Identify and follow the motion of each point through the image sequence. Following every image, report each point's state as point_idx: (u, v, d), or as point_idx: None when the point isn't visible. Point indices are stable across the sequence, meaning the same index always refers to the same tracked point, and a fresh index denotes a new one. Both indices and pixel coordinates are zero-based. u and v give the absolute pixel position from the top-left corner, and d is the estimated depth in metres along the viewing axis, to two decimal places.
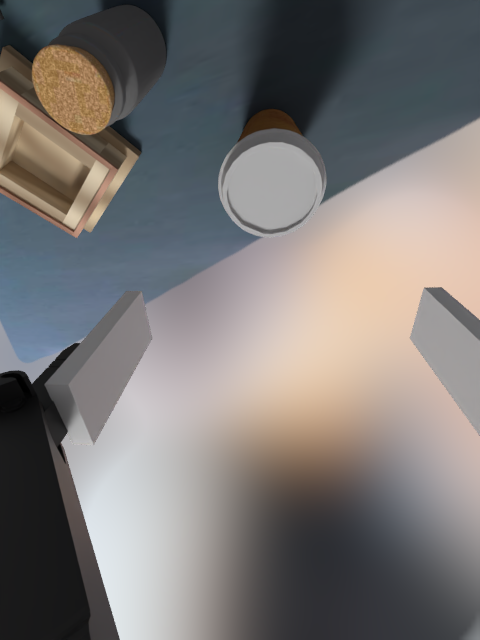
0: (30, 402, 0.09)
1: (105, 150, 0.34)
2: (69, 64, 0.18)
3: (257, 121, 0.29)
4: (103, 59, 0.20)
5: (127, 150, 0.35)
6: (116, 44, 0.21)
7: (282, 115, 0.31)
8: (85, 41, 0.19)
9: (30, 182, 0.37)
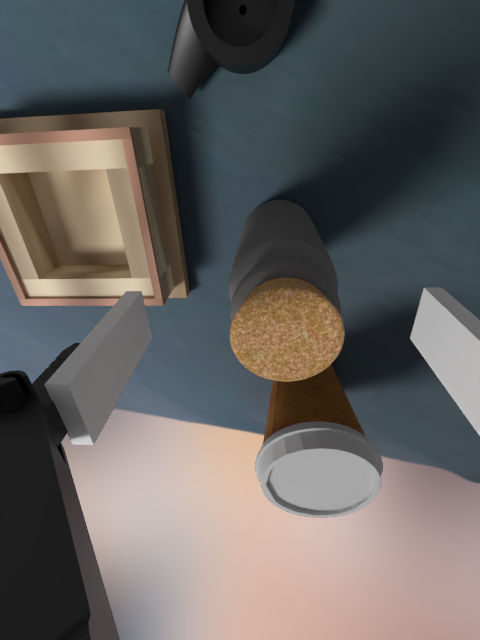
0: (30, 402, 0.09)
1: (164, 274, 0.25)
2: (322, 326, 0.12)
3: (328, 382, 0.27)
4: None
5: (181, 284, 0.27)
6: None
7: None
8: (338, 302, 0.14)
9: (27, 211, 0.24)
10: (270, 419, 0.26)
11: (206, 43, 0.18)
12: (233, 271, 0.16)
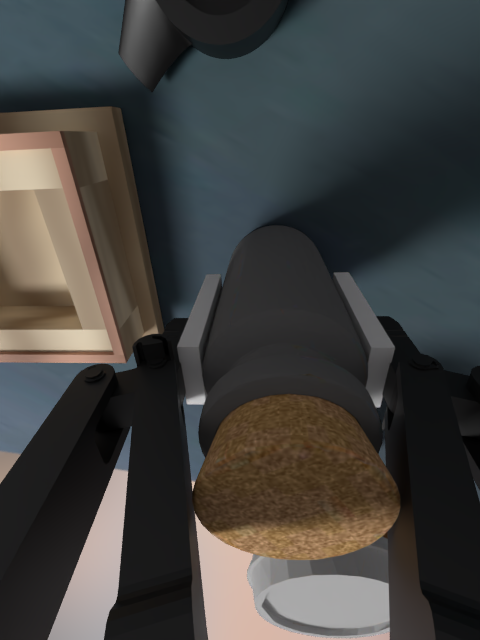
0: (168, 364, 0.10)
1: (128, 321, 0.19)
2: (360, 500, 0.07)
3: None
4: None
5: (153, 329, 0.22)
6: None
7: None
8: (379, 427, 0.08)
9: None
10: None
11: (169, 8, 0.12)
12: (207, 352, 0.11)
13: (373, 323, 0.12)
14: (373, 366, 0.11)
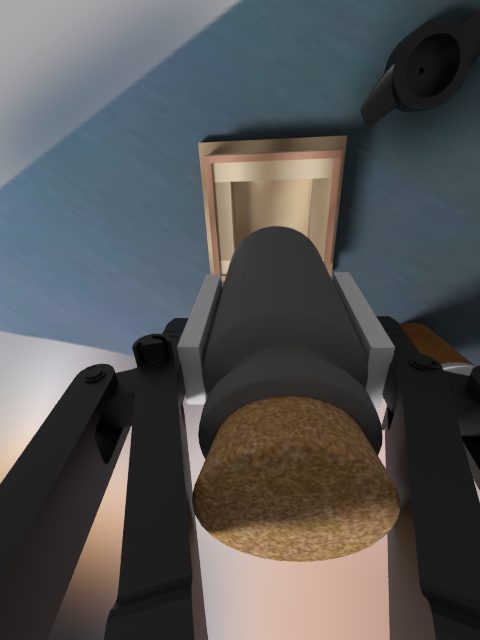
0: (168, 364, 0.10)
1: None
2: (360, 503, 0.07)
3: (442, 341, 0.36)
4: None
5: (329, 266, 0.36)
6: None
7: None
8: (379, 429, 0.08)
9: (233, 209, 0.32)
10: None
11: (401, 94, 0.26)
12: (207, 354, 0.11)
13: (373, 323, 0.12)
14: (373, 366, 0.11)
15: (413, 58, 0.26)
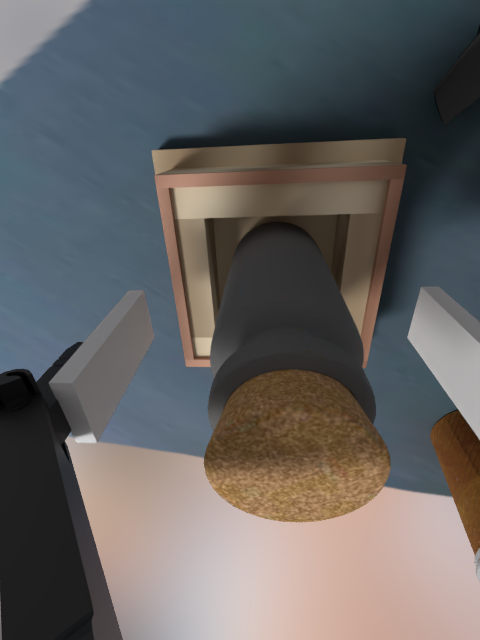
0: (34, 400, 0.09)
1: None
2: (354, 461, 0.08)
3: None
4: None
5: None
6: None
7: None
8: (373, 401, 0.09)
9: (212, 258, 0.19)
10: None
11: None
12: (215, 337, 0.11)
13: None
14: None
15: None
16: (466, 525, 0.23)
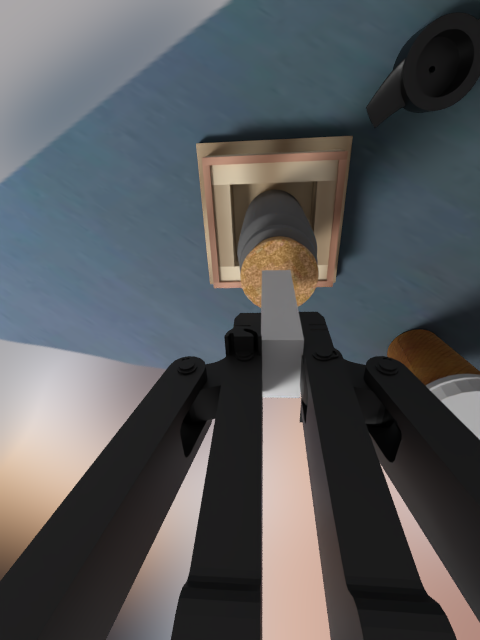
0: (256, 359, 0.10)
1: None
2: (303, 267, 0.18)
3: (451, 349, 0.34)
4: None
5: (333, 271, 0.34)
6: None
7: None
8: (315, 254, 0.20)
9: (232, 213, 0.30)
10: None
11: (410, 92, 0.25)
12: (240, 238, 0.22)
13: (293, 318, 0.12)
14: (286, 358, 0.11)
15: (424, 55, 0.25)
16: None
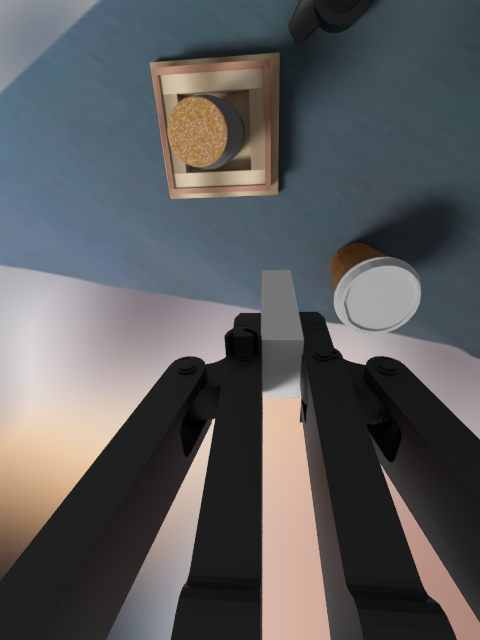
0: (256, 359, 0.10)
1: None
2: (214, 122, 0.24)
3: (378, 251, 0.39)
4: (229, 138, 0.26)
5: (275, 183, 0.39)
6: (235, 135, 0.28)
7: None
8: (229, 120, 0.25)
9: None
10: (340, 271, 0.38)
11: (319, 8, 0.30)
12: None
13: (293, 318, 0.12)
14: (286, 358, 0.11)
15: None
16: None
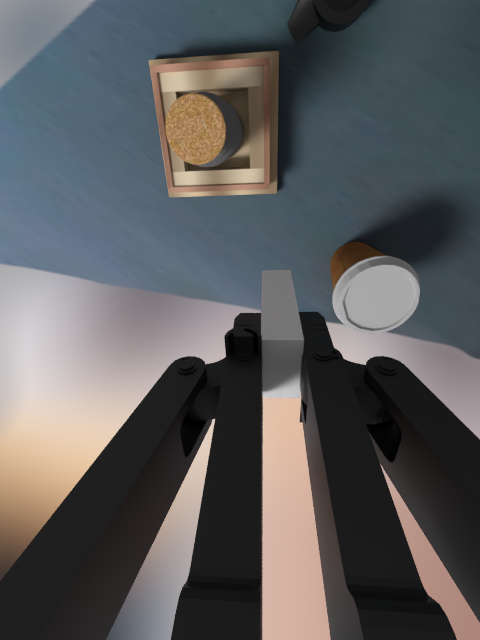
0: (256, 359, 0.10)
1: None
2: (212, 119, 0.24)
3: None
4: (227, 135, 0.26)
5: (274, 182, 0.39)
6: (234, 133, 0.28)
7: None
8: (227, 118, 0.25)
9: None
10: (339, 271, 0.38)
11: (319, 6, 0.30)
12: None
13: (293, 318, 0.12)
14: (286, 358, 0.11)
15: None
16: None
